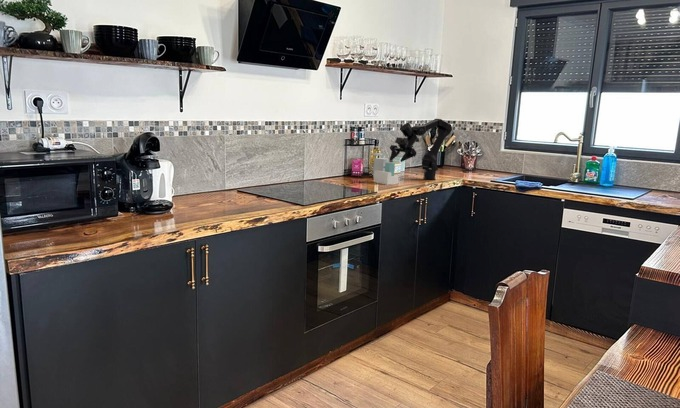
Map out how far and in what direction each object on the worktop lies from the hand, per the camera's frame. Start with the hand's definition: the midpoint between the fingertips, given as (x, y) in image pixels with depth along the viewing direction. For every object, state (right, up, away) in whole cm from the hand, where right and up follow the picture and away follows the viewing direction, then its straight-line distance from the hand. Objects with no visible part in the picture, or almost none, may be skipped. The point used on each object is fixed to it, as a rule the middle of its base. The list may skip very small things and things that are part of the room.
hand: (395, 160), depth 307 cm
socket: (-6, -13, -2) cm, 15 cm away
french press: (-9, -7, +35) cm, 37 cm away
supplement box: (-7, -9, +22) cm, 25 cm away
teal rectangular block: (-4, -13, 0) cm, 14 cm away
